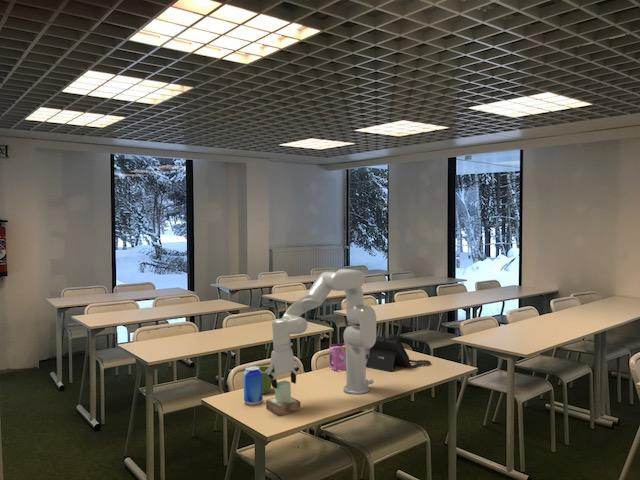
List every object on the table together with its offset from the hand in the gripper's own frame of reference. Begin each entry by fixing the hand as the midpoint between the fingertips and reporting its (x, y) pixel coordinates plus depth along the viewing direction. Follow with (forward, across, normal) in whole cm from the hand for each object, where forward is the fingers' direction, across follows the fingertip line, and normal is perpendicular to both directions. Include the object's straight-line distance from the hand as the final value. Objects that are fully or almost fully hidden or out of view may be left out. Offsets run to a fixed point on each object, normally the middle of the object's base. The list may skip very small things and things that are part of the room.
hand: (284, 385), depth 227 cm
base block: (+11, +1, 0) cm, 11 cm away
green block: (+6, +1, 0) cm, 7 cm away
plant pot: (+11, -4, -28) cm, 30 cm away
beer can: (+11, +7, -17) cm, 21 cm away
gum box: (+13, -64, -36) cm, 74 cm away
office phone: (+14, -88, -22) cm, 91 cm away
